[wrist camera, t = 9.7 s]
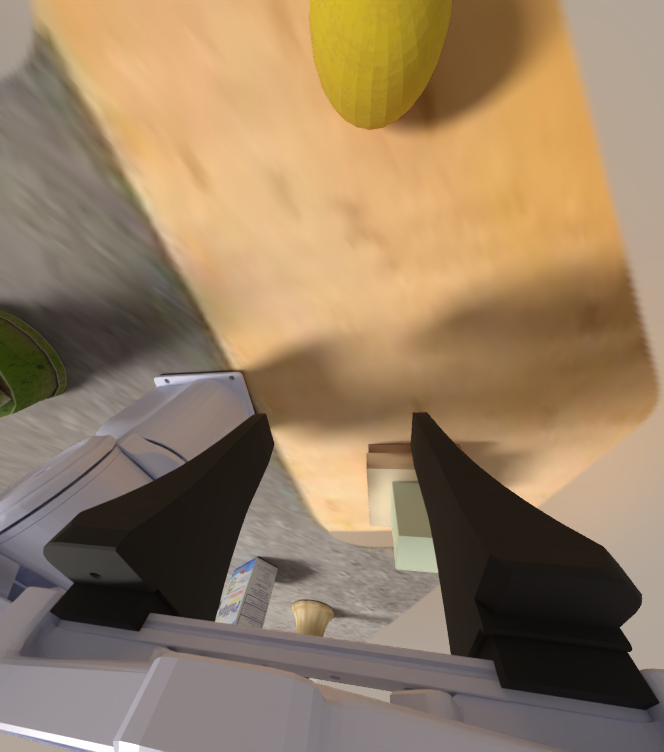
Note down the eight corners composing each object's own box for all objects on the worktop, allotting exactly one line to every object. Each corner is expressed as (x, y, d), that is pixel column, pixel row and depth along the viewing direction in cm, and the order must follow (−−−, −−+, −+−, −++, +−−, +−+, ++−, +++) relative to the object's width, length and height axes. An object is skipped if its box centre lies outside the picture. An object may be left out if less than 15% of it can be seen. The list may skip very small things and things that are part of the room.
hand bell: (343, 614, 47) (333, 771, 33) (312, 621, 50) (292, 766, 36) (313, 595, 45) (290, 755, 31) (283, 603, 48) (250, 751, 34)
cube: (390, 514, 26) (395, 568, 21) (392, 481, 24) (398, 535, 19) (440, 517, 25) (456, 574, 21) (447, 484, 23) (466, 540, 18)
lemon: (449, 48, 13) (553, -195, 6) (388, 171, 15) (407, 108, 8) (357, -24, 12) (345, -404, 5) (309, 118, 15) (256, -1, 8)
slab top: (369, 508, 29) (369, 525, 27) (366, 452, 25) (366, 468, 23) (450, 512, 28) (455, 530, 26) (461, 454, 23) (468, 470, 22)
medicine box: (257, 555, 40) (232, 628, 32) (279, 567, 41) (259, 640, 34) (234, 569, 43) (206, 638, 36) (254, 580, 44) (232, 649, 37)
